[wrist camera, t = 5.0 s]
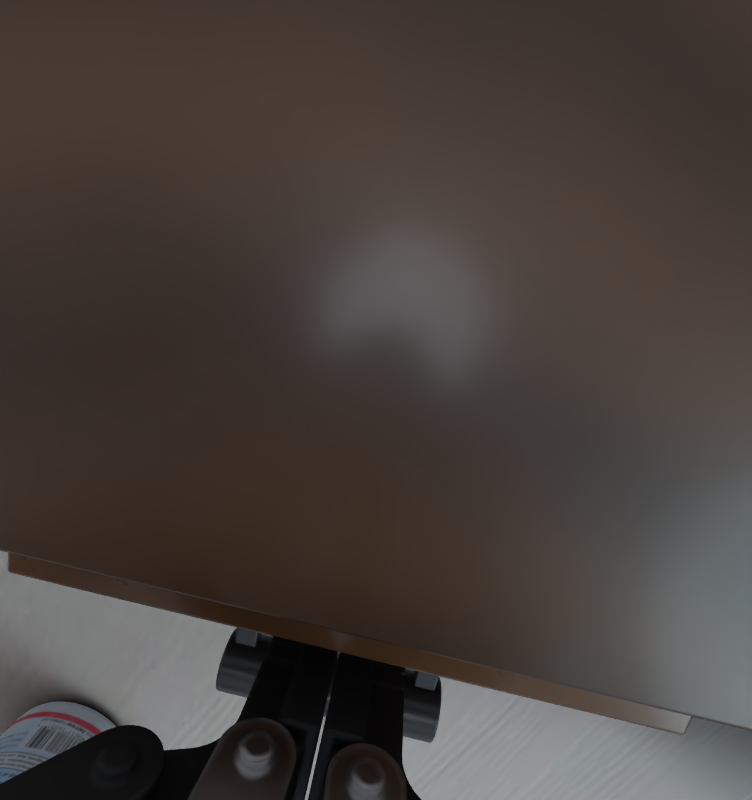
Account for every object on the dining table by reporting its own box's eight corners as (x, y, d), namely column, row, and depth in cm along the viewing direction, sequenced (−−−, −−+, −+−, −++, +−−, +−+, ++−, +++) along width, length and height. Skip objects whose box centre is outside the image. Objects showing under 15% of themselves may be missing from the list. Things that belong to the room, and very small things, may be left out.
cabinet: (569, 473, 18) (787, 741, 7) (207, 391, 18) (-78, 533, 8) (747, -69, 14) (1807, -1215, 3) (275, -155, 14) (-130, -1397, 4)
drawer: (510, 635, 18) (591, 942, 10) (191, 559, 19) (0, 790, 10) (714, 5, 13) (1250, -502, 5) (273, -77, 14) (31, -681, 5)
